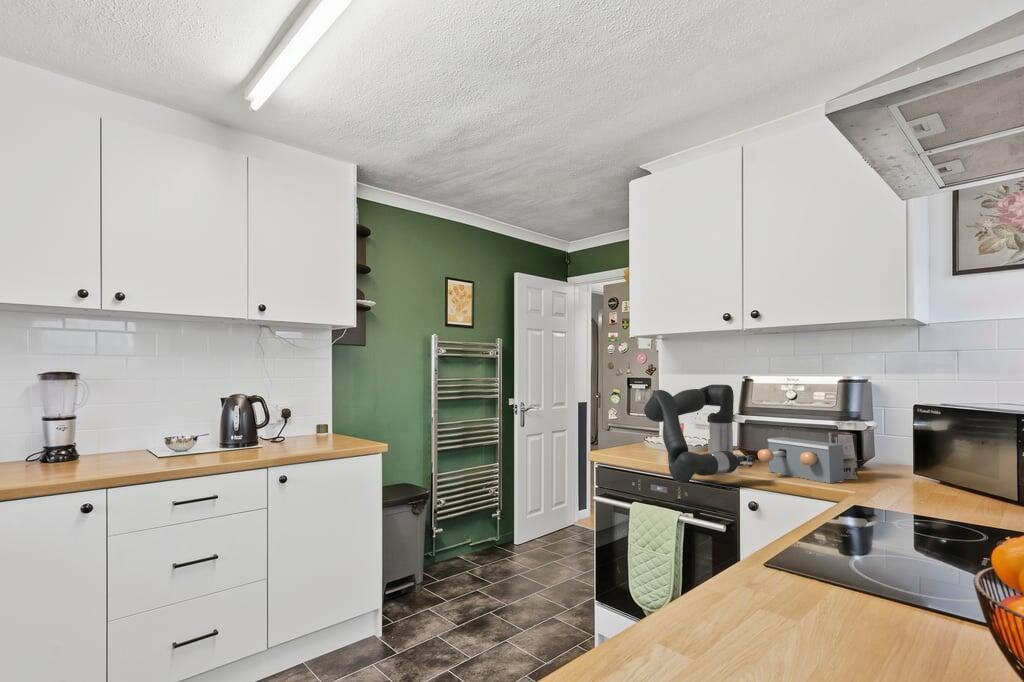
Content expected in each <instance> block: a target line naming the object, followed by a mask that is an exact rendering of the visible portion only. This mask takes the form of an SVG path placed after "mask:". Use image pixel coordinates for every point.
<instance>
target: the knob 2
mask: <svg viewBox="0 0 1024 682" xmlns="http://www.w3.org/2000/svg"><path fill="white" fill-rule="evenodd" d="M800 460H801V462H802V463H803V464H804V465H813V464H815V463H816V462H817V455H815V454H814V453H813V452H806V453H802V454H801V455H800Z"/></svg>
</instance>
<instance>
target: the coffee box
mask: <svg viewBox="0 0 1024 682" xmlns="http://www.w3.org/2000/svg"><path fill="white" fill-rule="evenodd" d="M828 443H835V444H843V463H844V480H858V479H859V476H858V451H857V447H858V445H857V434H855V433H852V432H846V431H834V432H833V431H829V432H828Z"/></svg>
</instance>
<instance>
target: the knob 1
mask: <svg viewBox="0 0 1024 682" xmlns="http://www.w3.org/2000/svg"><path fill="white" fill-rule="evenodd" d="M786 455H787V453H786V451H776V452H772V451H771V450H769V448H766V449H765V448H764V449H760V450H758V452H757V457H758V460H759V461H760V462H762V463H766V462H769V461H772V460H773V458H774V457H781V456H786Z"/></svg>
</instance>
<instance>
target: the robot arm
mask: <svg viewBox="0 0 1024 682" xmlns="http://www.w3.org/2000/svg"><path fill="white" fill-rule="evenodd" d="M734 399H735V396H734V390H733V388H732V386H731V385H729V384H709V385H706V386H704V387H701V388H691V389H690V388H689V389H684V390H682V391H679V392H677V393H675V394H674V395H672V393H670V392H668V391H666V390H664V389H657V390H655V391H654V393H653V394H652V395H651V396H650V398H649V399H648V400H647V402H646V403H645V406H644V409H643V412H644V416H645V417H646V418H647V419H649V420H651V421H652V422H656V423H663V426H662V439H663V443H664V446H665V449H666V452H667V459H668V460H667V461H668V470H669V473H670V476H671V477H672V479H673V480H675V481H676V482H677V483H679V484H686V483H689V481H691V479H692V478H693V477H694V475H695V474H696V475H698V476H701V477H702V476H712V475H714V476H715V475H716V476H717V475H725V474H732V473H733V472H736V469H737V468H742V467H744V466H747V467H749V468H752V467H753V463H755V462H756V456H755V455H751V454H750V455H744V454H734V435H733V434H734V433H733V432H734V431H733V417H734V402H735V400H734ZM704 406H705V407H706V406H711V407H719V411H717V412H716V413H712V414H709V416H708V417H709V418H708V422H709V438H708V439H707V453H703V454H700V453H696V452H692V451H689V446H688V444H687V442H686V439H685V437H684V434H683V431H682V427H681V424H680V418H679V417H680V416H683V415H687V414H691V413H695V412H699V411H701V410H702V409H703V408H704Z"/></svg>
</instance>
